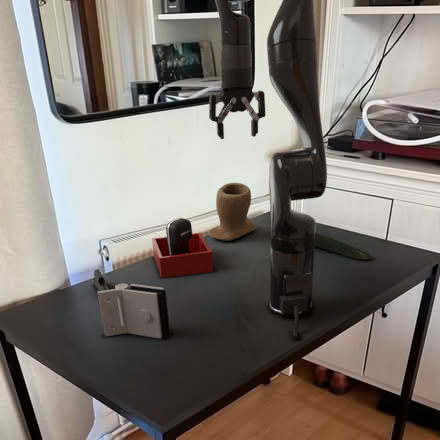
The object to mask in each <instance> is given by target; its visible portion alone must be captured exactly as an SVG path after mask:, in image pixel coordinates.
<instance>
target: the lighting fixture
mask: <svg viewBox="0 0 440 440" xmlns="http://www.w3.org/2000/svg"><path fill="white" fill-rule="evenodd" d="M93 276H94V277H93V281H94V286H95V287H96V289H97V292H99V291H105V290H110V288H109V287H108V285H107V283H106V279H105V277H104V275H103V273H102V272H101V270H100V268H99V269H98V268H97V269H94V273H93ZM106 301H107V302H109V301H110V299H109V298H107V299H106Z"/></svg>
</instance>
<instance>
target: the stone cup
mask: <svg viewBox="0 0 440 440" xmlns="http://www.w3.org/2000/svg"><path fill="white" fill-rule="evenodd" d="M215 198H216V200H215V204H216V205H215V206H216V207H215V208H216V213H217V216H218V219H219V225H217V226H216V227H213V228H212V229H210V230H209V231H208V235H209V236H210V237H211V238H213V239H215V240H220V241H226V242H227V241H233V240H235V239H239V238H241V237H243V236H245V235H248V234H249V233H251V232H253V231H255V230H256V229H257V226H256V224H254V223H253V221H252V220H250V219H249V217H248V213H249V210H250V207H251V203H252V192H251V189H250V187H249V186H248V185H246V184H244V183H241V182H228V183H225V184H223V185H222V186H221V187H219V188H218V190H217V191H216V197H215Z"/></svg>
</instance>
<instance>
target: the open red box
mask: <svg viewBox="0 0 440 440" xmlns="http://www.w3.org/2000/svg"><path fill="white" fill-rule="evenodd" d="M151 242H152V251H153V253H152V254H153V258H154V261H155V263H156V266H157V269H158V272H159V274H160V277H161V279H163V278H172V277H179V276H188V275H196V274H197V275H198V274H204V273H213V272H214V261H213V260H214V259H213V251H212V249H211V247H210V246H209V244H208V243H207V241H206V239H205V237H204V236H203V235H202V233H201V232H195V233H192V238H191V239H190V240H189V251H190V254H182V255H173V256H169V252H168V244H167V236H159V237H152V238H151Z"/></svg>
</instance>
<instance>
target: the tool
mask: <svg viewBox="0 0 440 440" xmlns="http://www.w3.org/2000/svg"><path fill="white" fill-rule="evenodd" d="M314 248H317V249H320V250H322V251H326V252H330V253H334V254H337V255H341V256H344V257H348V258H351V259H352V258H353V259H356V260H357V259H358V260H363V261H365V260H367V261H368V260H370V259H372V257H373V256H372V254H370V253H368V252H367V251H364V250H362V249H360V248H358V247H354V246H352V245H350V244H348V243H345V242H343V241H340V240H338V239H335V238H333V237H330V236H327V235H323V234H321V233H318V232H315V246H314Z"/></svg>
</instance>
